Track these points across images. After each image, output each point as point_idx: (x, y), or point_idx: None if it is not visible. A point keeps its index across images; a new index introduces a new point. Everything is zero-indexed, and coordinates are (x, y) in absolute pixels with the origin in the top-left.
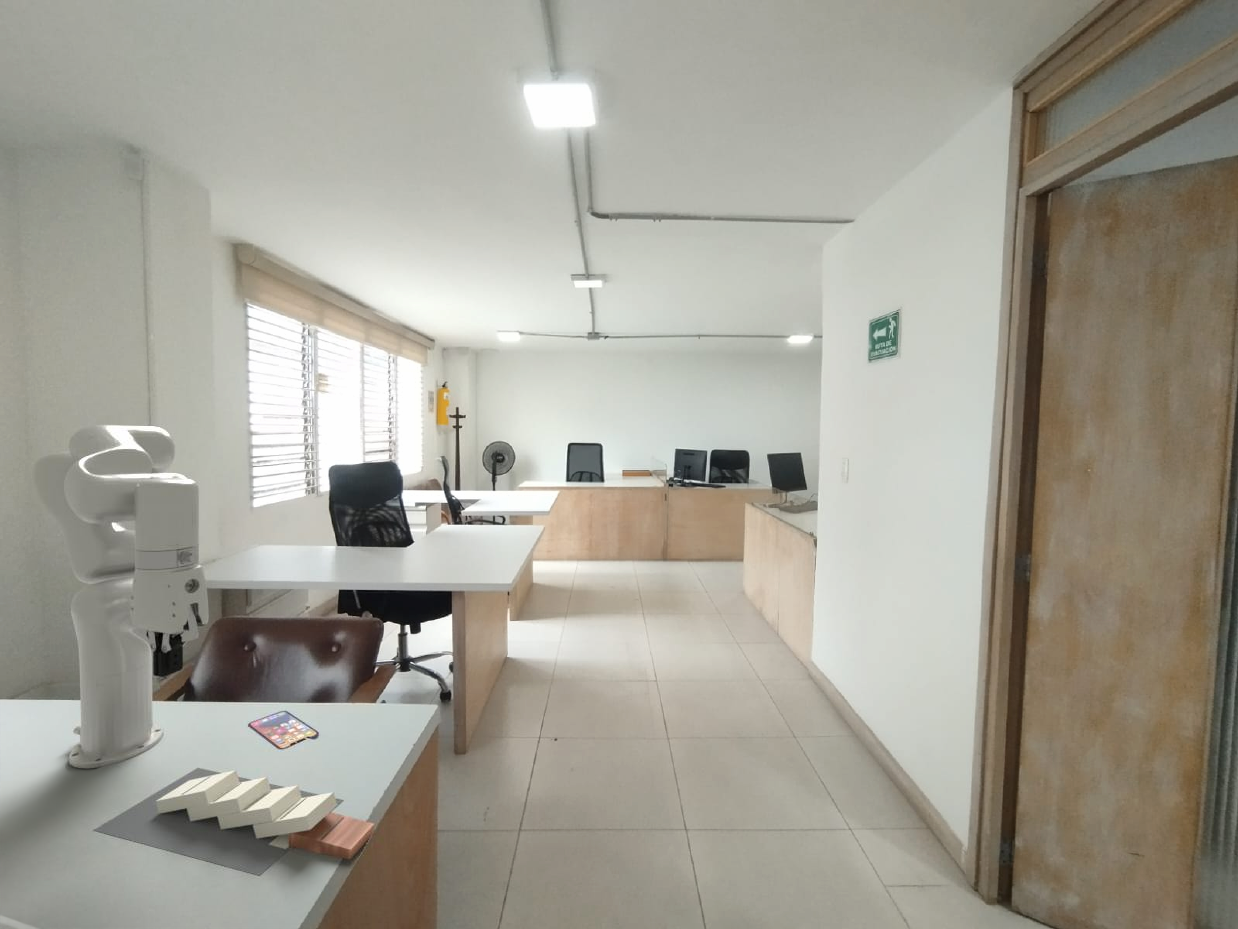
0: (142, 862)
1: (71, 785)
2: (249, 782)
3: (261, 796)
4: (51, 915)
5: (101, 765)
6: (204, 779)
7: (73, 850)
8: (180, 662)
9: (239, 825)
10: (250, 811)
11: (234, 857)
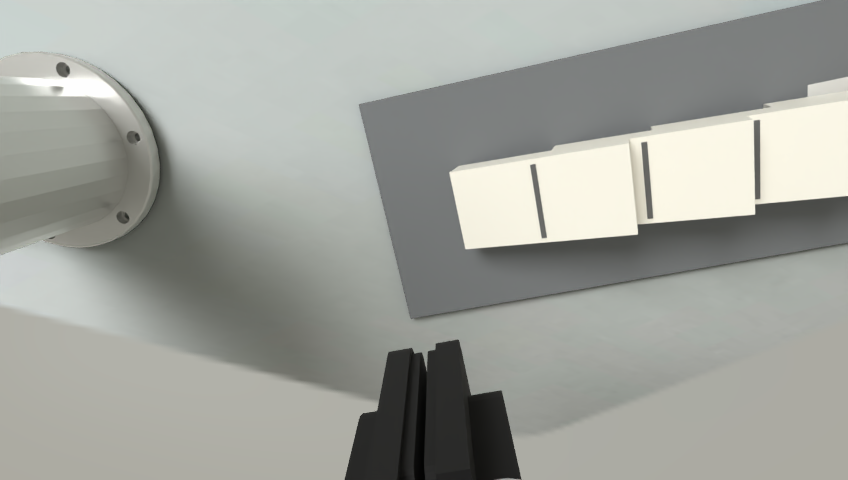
0: (586, 310)
1: (178, 270)
2: (690, 142)
3: None
4: (575, 416)
5: (145, 215)
6: (527, 176)
7: (432, 348)
8: (502, 403)
9: None
10: (786, 200)
11: (764, 236)
